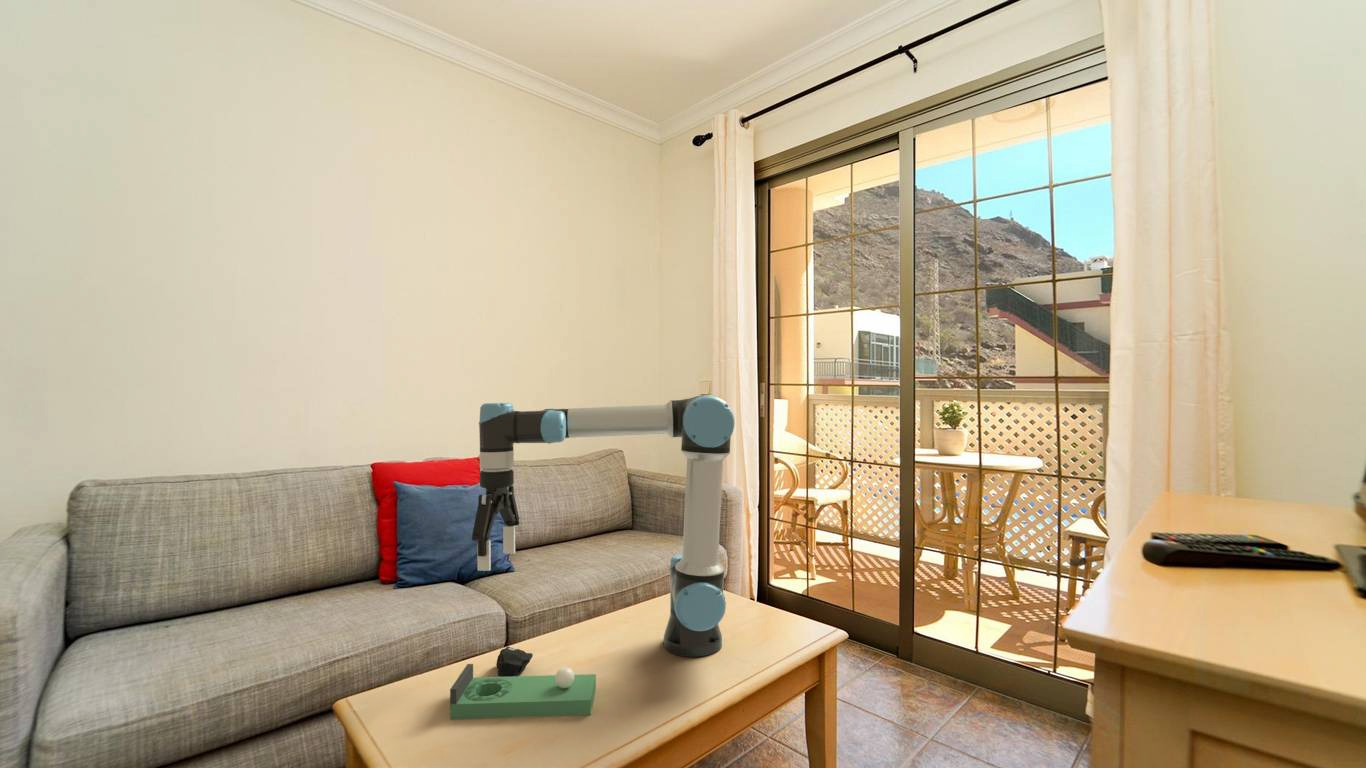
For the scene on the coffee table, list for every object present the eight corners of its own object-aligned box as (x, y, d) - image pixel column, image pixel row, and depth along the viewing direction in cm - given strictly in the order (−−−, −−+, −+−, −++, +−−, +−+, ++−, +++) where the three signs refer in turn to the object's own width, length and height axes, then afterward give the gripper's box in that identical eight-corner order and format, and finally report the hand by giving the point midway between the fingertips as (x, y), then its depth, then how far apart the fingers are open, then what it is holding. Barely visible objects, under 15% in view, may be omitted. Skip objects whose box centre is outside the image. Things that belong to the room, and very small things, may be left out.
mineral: (478, 680, 134) (479, 654, 134) (503, 663, 142) (503, 639, 142) (516, 688, 130) (516, 661, 130) (539, 670, 139) (539, 645, 139)
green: (595, 687, 130) (595, 660, 130) (590, 714, 119) (590, 685, 119) (467, 691, 128) (467, 663, 129) (450, 719, 117) (450, 689, 118)
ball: (575, 682, 126) (575, 663, 126) (573, 691, 122) (573, 672, 122) (556, 682, 126) (556, 664, 126) (553, 692, 122) (553, 673, 122)
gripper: (503, 462, 149) (504, 546, 148) (454, 477, 124) (455, 577, 123) (532, 462, 148) (532, 547, 147) (488, 477, 123) (489, 578, 123)
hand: (497, 561), depth 135 cm, fingers open, 13 cm apart
